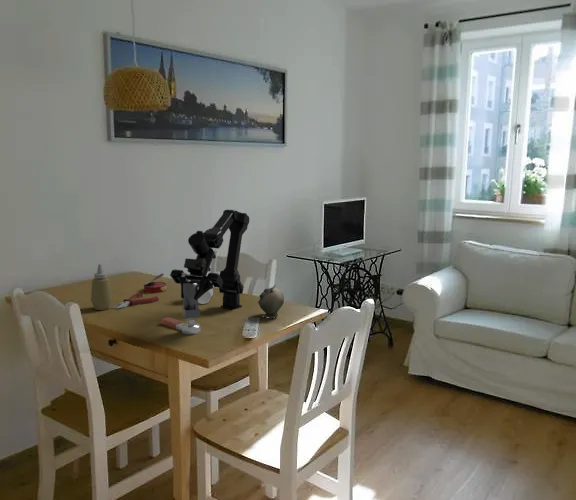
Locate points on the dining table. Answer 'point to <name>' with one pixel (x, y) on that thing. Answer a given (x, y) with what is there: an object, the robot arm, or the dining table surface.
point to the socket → (190, 300)
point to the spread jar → (204, 295)
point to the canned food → (155, 286)
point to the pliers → (135, 301)
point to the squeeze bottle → (101, 290)
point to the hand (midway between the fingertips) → (188, 299)
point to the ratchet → (183, 325)
